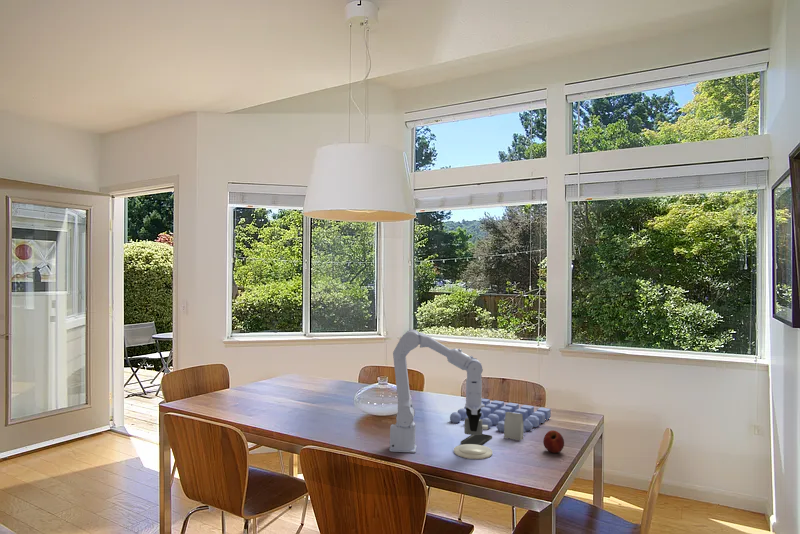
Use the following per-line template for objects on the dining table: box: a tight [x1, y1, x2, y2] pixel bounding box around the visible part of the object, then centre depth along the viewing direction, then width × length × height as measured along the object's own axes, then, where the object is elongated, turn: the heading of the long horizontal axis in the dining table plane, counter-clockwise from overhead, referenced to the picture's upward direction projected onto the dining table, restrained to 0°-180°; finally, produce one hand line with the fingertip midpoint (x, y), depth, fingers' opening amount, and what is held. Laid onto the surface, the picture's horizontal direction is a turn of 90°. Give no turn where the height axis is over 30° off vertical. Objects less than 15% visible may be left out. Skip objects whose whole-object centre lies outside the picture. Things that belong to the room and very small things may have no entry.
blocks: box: [449, 397, 551, 434], centre depth 233 cm, size 35×34×5 cm
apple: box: [542, 430, 565, 454], centre depth 191 cm, size 7×8×8 cm
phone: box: [460, 433, 493, 446], centre depth 203 cm, size 8×1×15 cm
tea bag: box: [503, 412, 524, 441], centre depth 207 cm, size 4×7×10 cm, turn 61°
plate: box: [453, 444, 493, 460], centre depth 189 cm, size 14×14×1 cm
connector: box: [464, 418, 489, 436], centre depth 189 cm, size 8×4×5 cm, turn 84°
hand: (473, 429), depth 189 cm, fingers closed on connector, 3 cm apart
